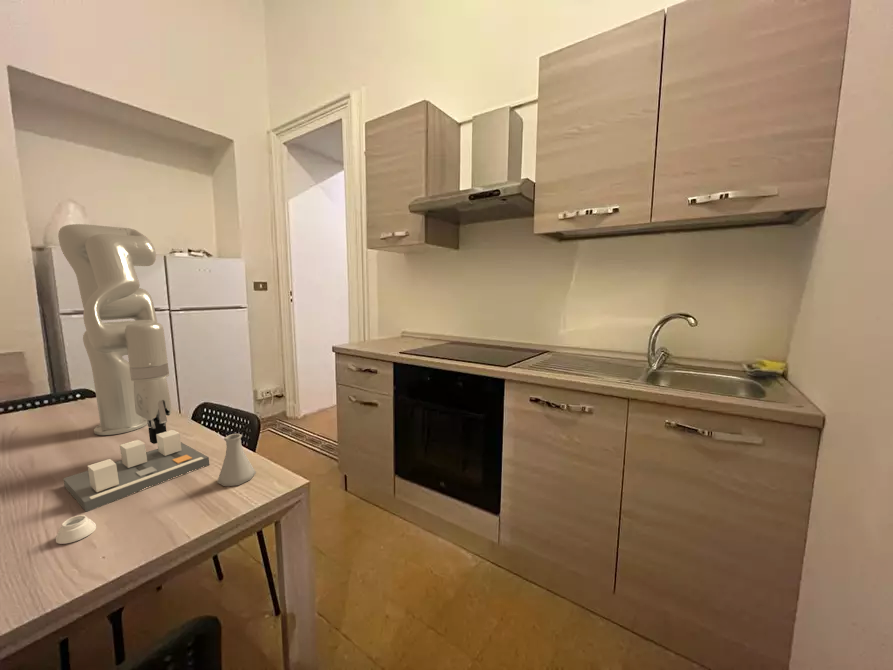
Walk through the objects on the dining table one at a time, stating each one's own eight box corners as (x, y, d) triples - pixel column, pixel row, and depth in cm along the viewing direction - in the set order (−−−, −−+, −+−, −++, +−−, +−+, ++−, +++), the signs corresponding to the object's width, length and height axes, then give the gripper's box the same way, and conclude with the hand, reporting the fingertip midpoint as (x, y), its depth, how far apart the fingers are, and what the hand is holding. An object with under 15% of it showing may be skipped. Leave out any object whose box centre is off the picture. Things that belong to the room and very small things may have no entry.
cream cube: (158, 451, 92) (156, 434, 91) (174, 446, 95) (172, 429, 94) (165, 455, 90) (162, 438, 89) (181, 450, 92) (179, 433, 92)
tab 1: (90, 486, 76) (87, 465, 76) (112, 478, 79) (109, 458, 79) (96, 492, 74) (93, 471, 74) (119, 484, 77) (116, 463, 76)
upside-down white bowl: (65, 531, 66) (49, 549, 62) (63, 516, 66) (46, 533, 61) (101, 523, 68) (88, 540, 64) (99, 508, 68) (86, 525, 63)
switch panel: (64, 486, 81) (63, 477, 80) (180, 448, 99) (179, 440, 98) (85, 511, 72) (84, 501, 71) (209, 464, 90) (208, 456, 89)
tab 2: (122, 463, 86) (119, 444, 85) (140, 457, 89) (138, 439, 88) (128, 467, 84) (125, 449, 83) (147, 461, 87) (144, 443, 86)
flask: (239, 489, 79) (234, 444, 78) (210, 485, 81) (205, 441, 79) (262, 472, 86) (258, 431, 85) (235, 469, 88) (231, 428, 86)
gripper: (120, 371, 94) (130, 440, 97) (142, 379, 86) (152, 454, 88) (156, 365, 100) (164, 430, 103) (179, 372, 92) (188, 442, 95)
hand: (158, 441), depth 96 cm, fingers closed
